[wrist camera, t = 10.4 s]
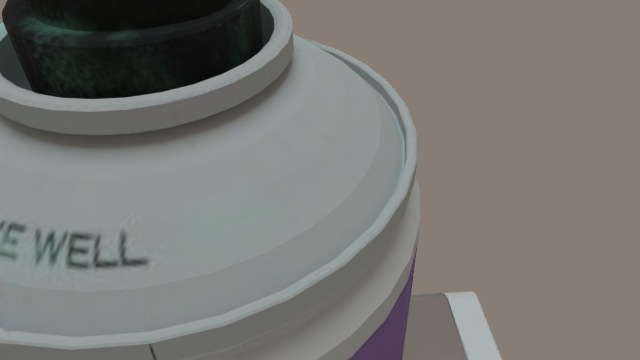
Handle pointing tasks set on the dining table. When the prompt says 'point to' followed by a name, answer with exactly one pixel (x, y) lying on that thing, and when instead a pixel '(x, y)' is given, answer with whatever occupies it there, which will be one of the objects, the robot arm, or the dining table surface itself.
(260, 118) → the spray can
